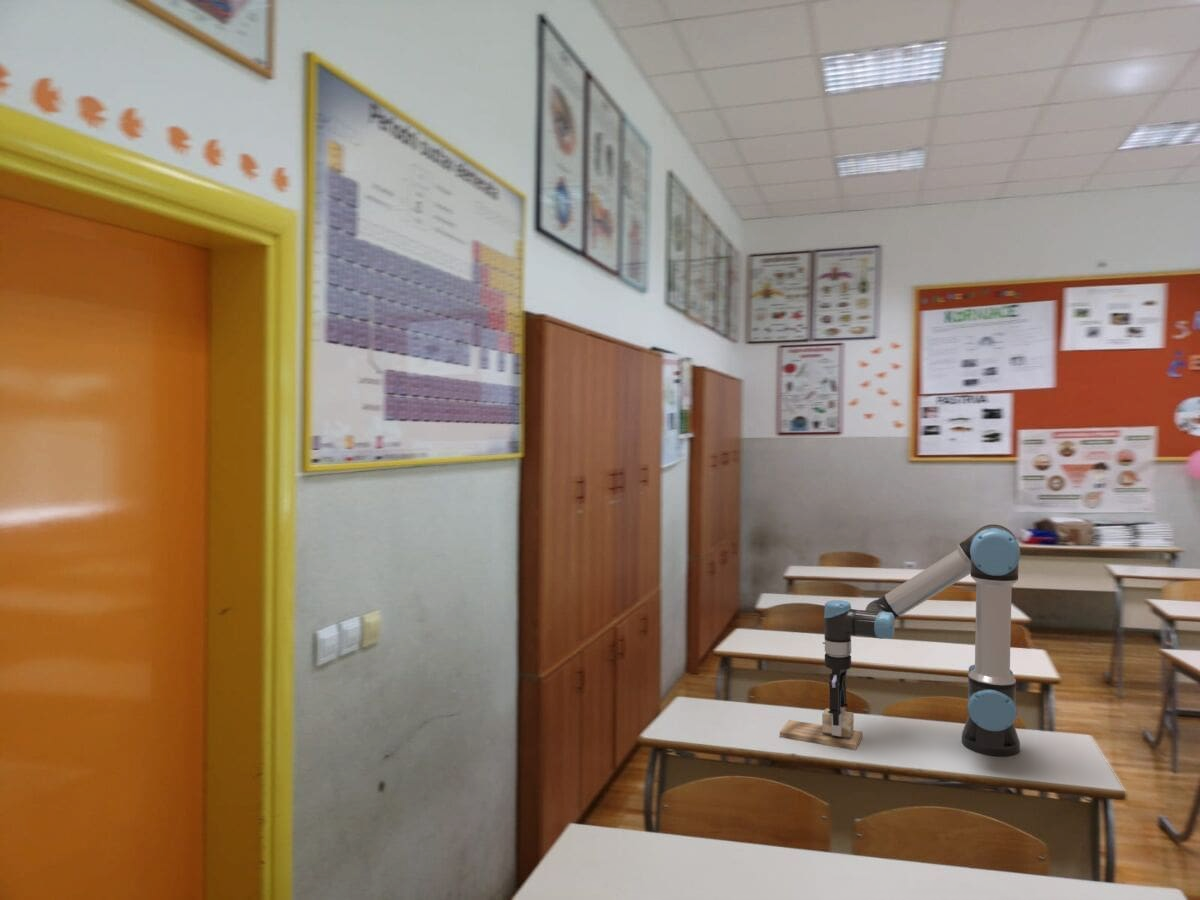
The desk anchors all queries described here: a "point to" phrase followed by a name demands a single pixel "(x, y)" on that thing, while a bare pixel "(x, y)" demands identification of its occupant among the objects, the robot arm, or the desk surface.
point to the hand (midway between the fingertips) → (838, 731)
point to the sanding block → (846, 723)
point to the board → (818, 735)
